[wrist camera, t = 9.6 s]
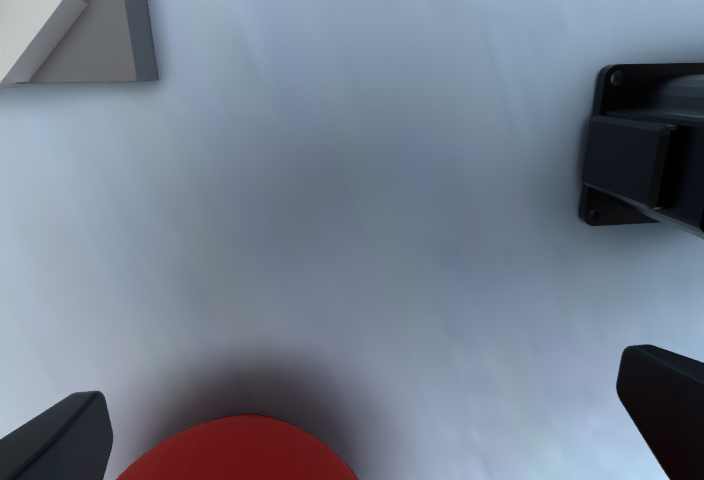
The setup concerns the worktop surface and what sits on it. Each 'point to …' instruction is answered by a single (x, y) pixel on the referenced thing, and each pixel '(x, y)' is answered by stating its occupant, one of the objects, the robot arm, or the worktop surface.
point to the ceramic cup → (240, 453)
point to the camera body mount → (75, 41)
